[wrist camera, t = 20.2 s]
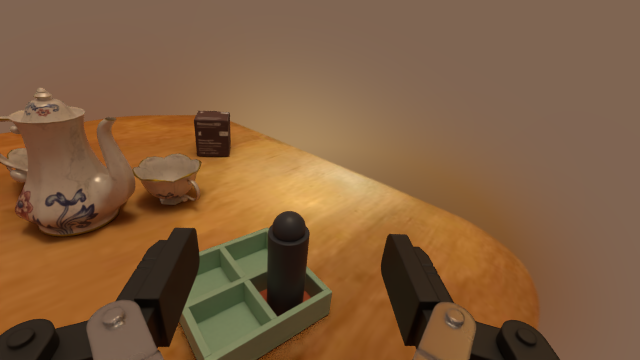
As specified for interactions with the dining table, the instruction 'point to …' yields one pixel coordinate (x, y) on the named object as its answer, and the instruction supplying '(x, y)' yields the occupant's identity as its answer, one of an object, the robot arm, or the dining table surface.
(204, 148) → the box
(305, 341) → the dining table surface
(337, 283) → the dining table surface
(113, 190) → the chinaware
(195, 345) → the grid
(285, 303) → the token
